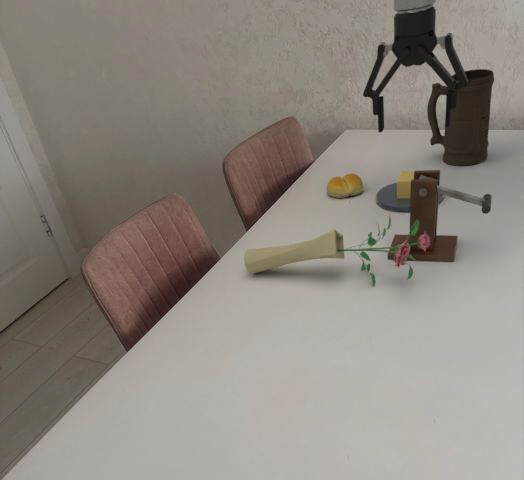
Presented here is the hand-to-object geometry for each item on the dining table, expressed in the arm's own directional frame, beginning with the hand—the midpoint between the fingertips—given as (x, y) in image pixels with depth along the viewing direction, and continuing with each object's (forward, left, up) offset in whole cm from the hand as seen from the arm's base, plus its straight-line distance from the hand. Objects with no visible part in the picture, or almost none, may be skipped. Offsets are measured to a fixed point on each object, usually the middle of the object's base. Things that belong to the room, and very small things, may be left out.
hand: (413, 127), depth 106 cm
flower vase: (+10, +35, -16) cm, 40 cm away
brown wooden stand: (-5, +24, -16) cm, 29 cm away
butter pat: (+1, 0, -14) cm, 14 cm away
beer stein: (-7, -24, -16) cm, 30 cm away
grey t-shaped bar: (-10, +24, -5) cm, 27 cm away
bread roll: (+17, -4, -16) cm, 23 cm away
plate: (+1, 0, -16) cm, 16 cm away
